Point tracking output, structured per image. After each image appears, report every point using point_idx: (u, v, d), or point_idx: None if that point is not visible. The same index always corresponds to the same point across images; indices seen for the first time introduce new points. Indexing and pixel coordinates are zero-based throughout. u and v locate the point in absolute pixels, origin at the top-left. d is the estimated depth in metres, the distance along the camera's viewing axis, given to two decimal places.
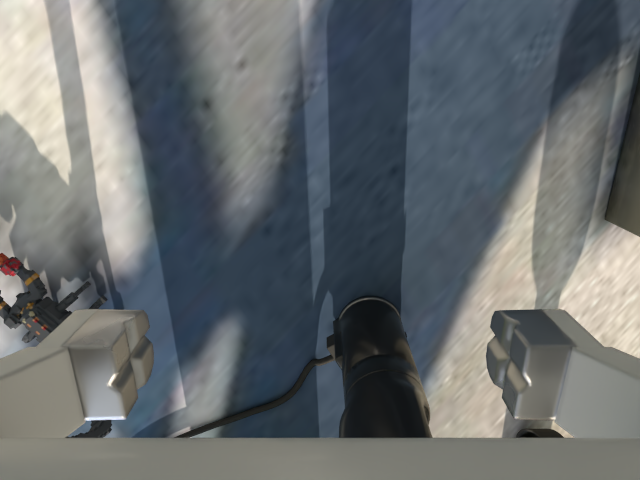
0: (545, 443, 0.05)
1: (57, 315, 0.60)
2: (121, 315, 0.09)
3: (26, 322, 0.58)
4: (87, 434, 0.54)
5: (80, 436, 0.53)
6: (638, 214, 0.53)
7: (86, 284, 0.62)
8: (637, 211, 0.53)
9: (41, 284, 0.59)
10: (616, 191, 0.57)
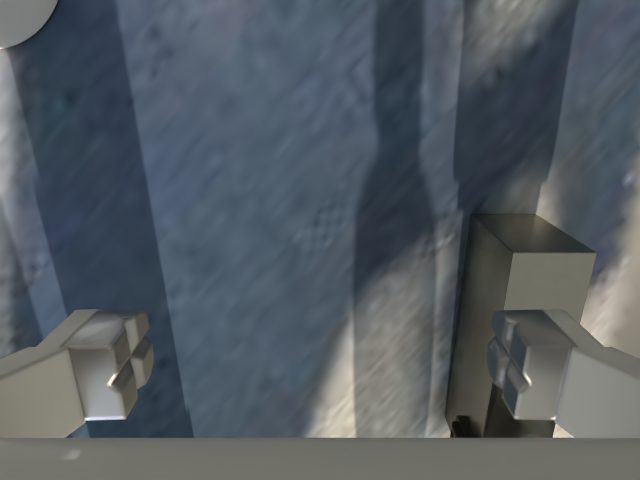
0: (545, 443, 0.05)
1: None
2: (121, 315, 0.09)
3: None
4: None
5: None
6: None
7: None
8: None
9: None
10: (451, 392, 0.44)
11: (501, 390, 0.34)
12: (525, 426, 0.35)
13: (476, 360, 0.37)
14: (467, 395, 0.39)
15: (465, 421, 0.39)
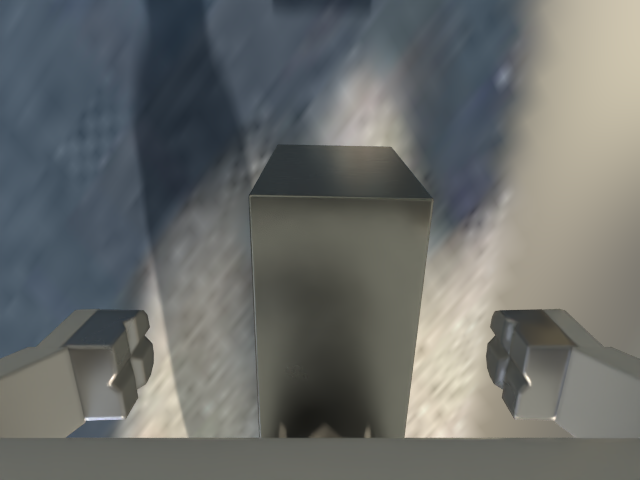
0: (545, 443, 0.05)
1: None
2: (121, 316, 0.09)
3: None
4: None
5: None
6: None
7: None
8: None
9: None
10: None
11: None
12: None
13: None
14: None
15: None
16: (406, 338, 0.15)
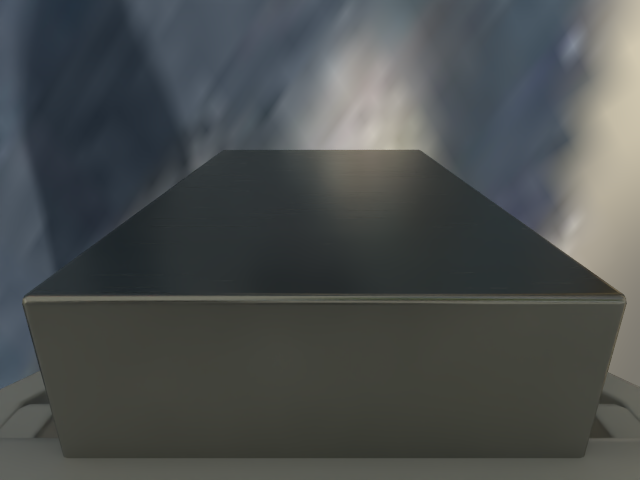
0: None
1: None
2: None
3: None
4: None
5: None
6: None
7: None
8: None
9: None
10: None
11: None
12: None
13: None
14: None
15: None
16: None
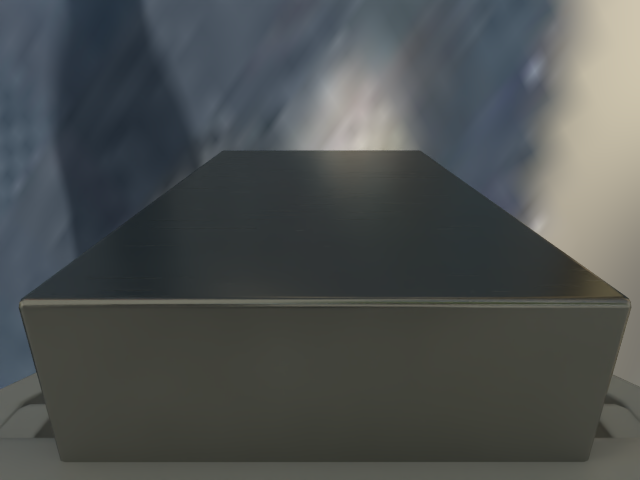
0: None
1: None
2: None
3: None
4: None
5: None
6: None
7: None
8: None
9: None
10: None
11: None
12: None
13: None
14: None
15: None
16: None
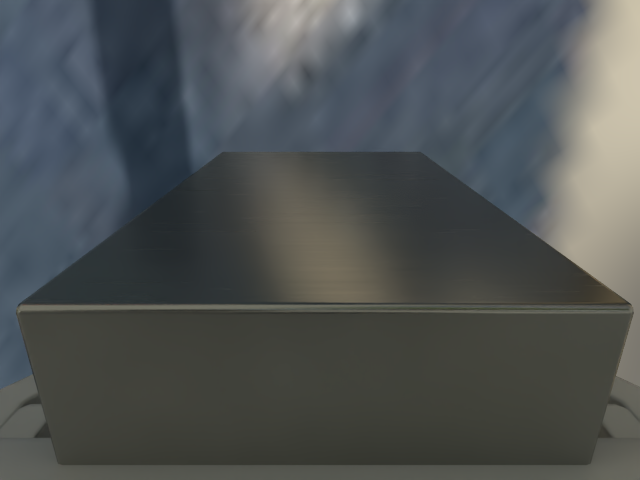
0: None
1: None
2: None
3: None
4: None
5: None
6: None
7: None
8: None
9: None
10: None
11: None
12: None
13: None
14: None
15: None
16: None
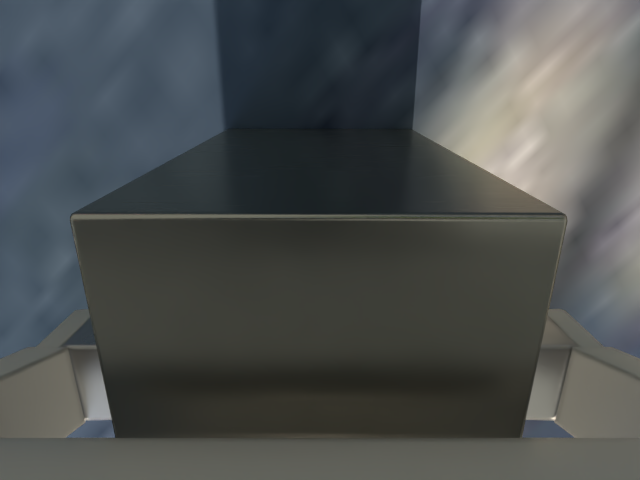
0: (545, 443, 0.05)
1: None
2: None
3: None
4: None
5: None
6: None
7: None
8: None
9: None
10: None
11: None
12: None
13: None
14: None
15: None
16: None
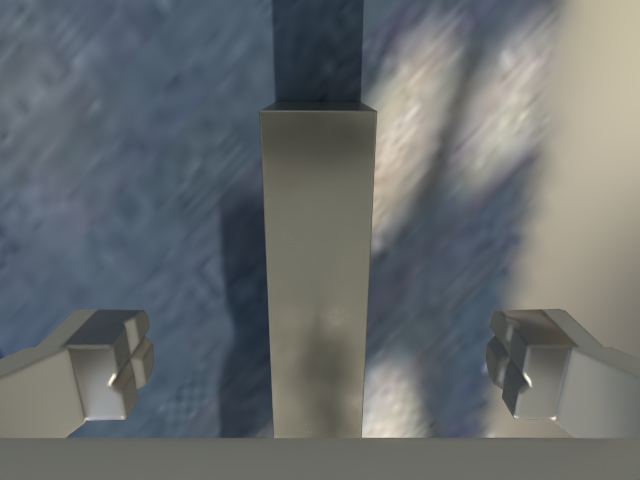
0: (545, 443, 0.05)
1: None
2: (121, 316, 0.09)
3: None
4: None
5: None
6: None
7: None
8: None
9: None
10: None
11: (283, 318, 0.25)
12: (325, 369, 0.27)
13: None
14: None
15: None
16: (365, 211, 0.23)
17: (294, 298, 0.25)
